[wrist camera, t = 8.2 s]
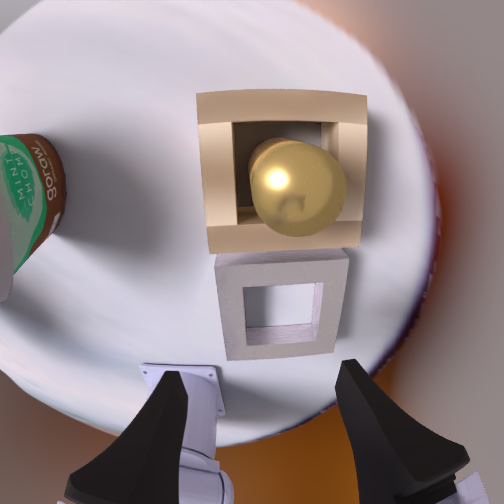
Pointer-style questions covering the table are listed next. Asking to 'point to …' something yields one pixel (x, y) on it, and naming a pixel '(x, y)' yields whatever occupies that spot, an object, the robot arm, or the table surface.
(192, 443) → the robot arm
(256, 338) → the socket block
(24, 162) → the food container
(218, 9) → the table surface
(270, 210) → the peg
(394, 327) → the table surface
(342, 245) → the beige square frame
